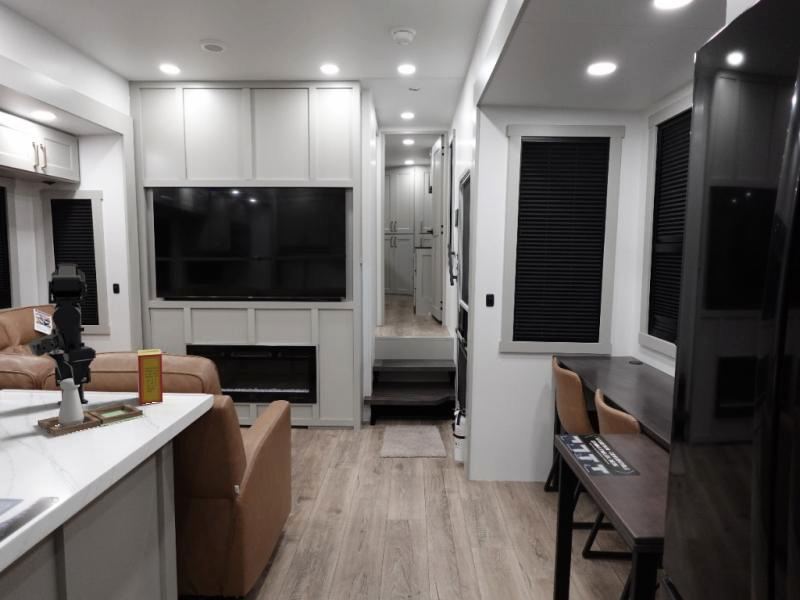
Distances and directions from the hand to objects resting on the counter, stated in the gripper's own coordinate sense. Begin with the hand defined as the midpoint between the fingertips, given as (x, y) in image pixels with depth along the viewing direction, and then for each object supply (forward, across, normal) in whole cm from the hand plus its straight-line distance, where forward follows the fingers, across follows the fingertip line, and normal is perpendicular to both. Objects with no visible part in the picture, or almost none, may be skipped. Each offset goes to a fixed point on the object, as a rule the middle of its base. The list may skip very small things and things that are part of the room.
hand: (70, 381), depth 127 cm
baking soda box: (+12, -9, +25) cm, 29 cm away
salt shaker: (+12, 0, 0) cm, 13 cm away
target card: (+12, 0, +11) cm, 16 cm away
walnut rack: (+12, -1, +5) cm, 13 cm away
